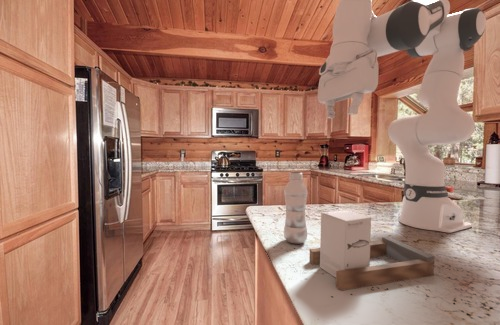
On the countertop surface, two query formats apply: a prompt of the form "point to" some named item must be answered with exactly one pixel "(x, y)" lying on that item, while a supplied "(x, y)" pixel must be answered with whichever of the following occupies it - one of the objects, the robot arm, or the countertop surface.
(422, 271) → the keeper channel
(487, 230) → the countertop surface
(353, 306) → the countertop surface
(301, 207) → the plastic bottle
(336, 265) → the supplement box
